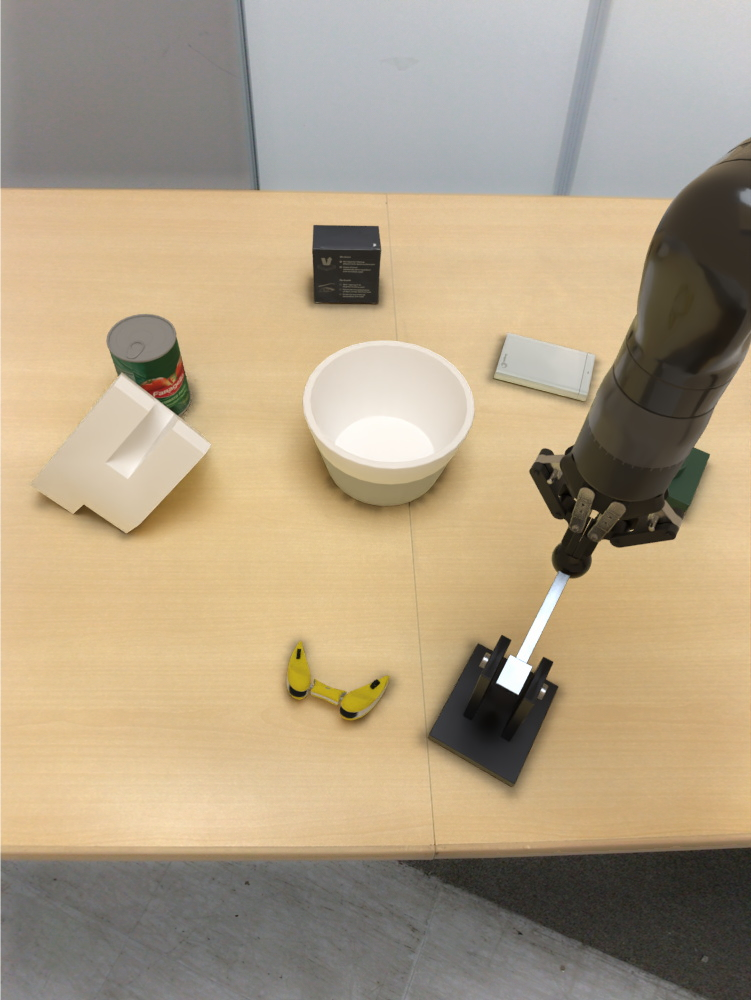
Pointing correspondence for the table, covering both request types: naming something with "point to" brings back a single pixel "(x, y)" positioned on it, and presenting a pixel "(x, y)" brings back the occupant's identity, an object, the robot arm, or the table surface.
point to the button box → (687, 480)
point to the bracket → (494, 714)
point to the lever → (541, 619)
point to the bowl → (387, 418)
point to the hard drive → (545, 366)
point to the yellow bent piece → (351, 703)
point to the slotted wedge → (122, 457)
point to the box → (346, 263)
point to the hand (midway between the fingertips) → (575, 548)
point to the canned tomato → (151, 358)
